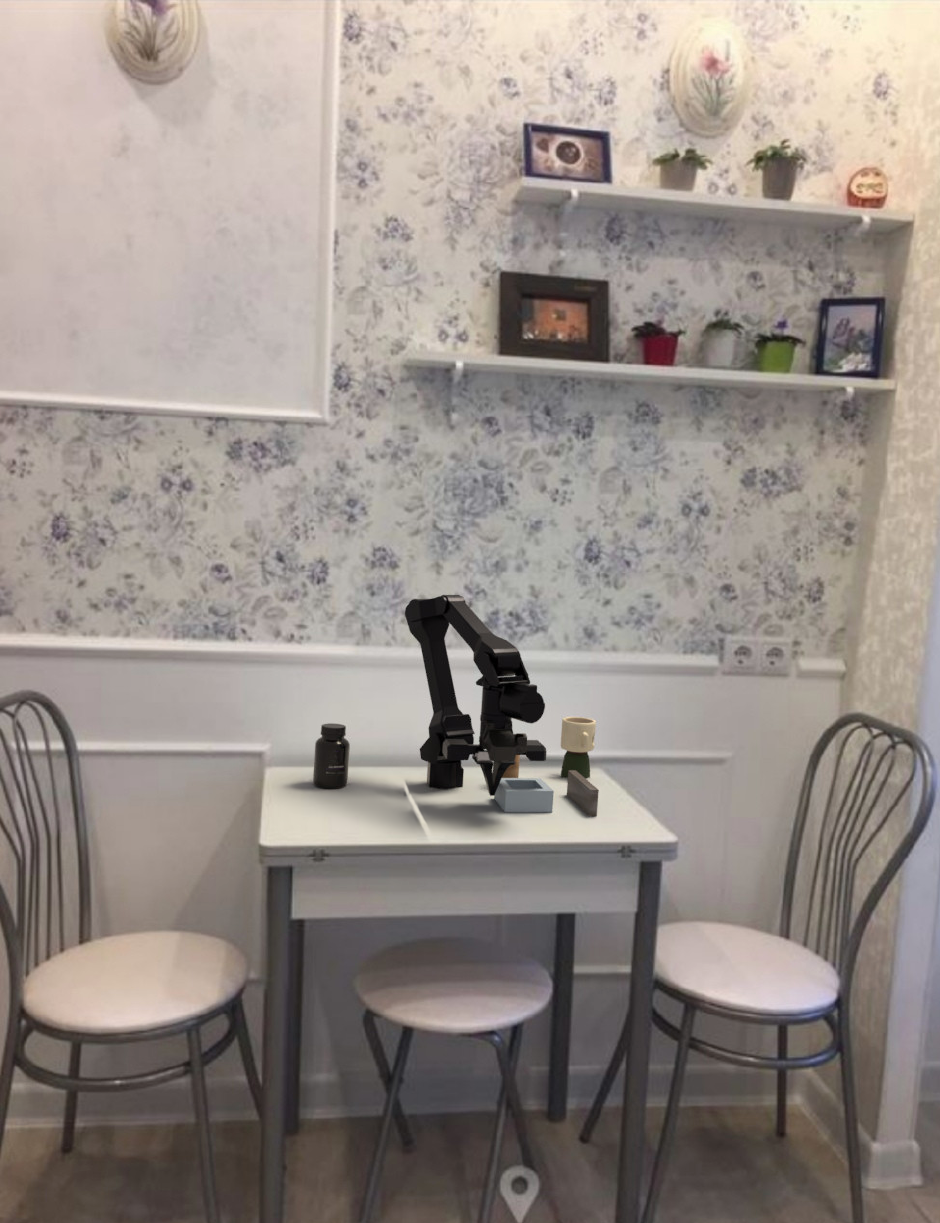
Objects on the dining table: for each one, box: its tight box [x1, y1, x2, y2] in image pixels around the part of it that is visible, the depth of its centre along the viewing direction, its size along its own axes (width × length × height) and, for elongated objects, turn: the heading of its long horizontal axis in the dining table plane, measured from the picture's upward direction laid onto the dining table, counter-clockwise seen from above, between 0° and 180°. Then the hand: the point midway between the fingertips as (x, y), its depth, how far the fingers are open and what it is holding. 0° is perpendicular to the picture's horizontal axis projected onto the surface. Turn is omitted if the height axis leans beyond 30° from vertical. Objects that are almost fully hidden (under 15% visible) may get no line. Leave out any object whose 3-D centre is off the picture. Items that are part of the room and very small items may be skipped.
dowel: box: [502, 755, 521, 778], centre depth 206 cm, size 4×4×10 cm
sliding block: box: [493, 777, 555, 813], centre depth 193 cm, size 9×9×4 cm
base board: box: [566, 770, 599, 817], centre depth 194 cm, size 18×14×6 cm
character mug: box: [560, 716, 597, 780], centre depth 218 cm, size 11×7×13 cm, turn 13°
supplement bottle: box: [312, 722, 351, 790], centre depth 204 cm, size 7×7×12 cm
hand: (491, 795), depth 192 cm, fingers closed
